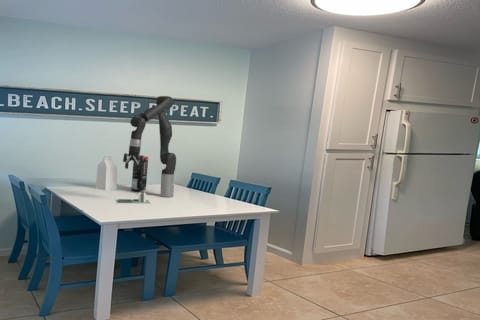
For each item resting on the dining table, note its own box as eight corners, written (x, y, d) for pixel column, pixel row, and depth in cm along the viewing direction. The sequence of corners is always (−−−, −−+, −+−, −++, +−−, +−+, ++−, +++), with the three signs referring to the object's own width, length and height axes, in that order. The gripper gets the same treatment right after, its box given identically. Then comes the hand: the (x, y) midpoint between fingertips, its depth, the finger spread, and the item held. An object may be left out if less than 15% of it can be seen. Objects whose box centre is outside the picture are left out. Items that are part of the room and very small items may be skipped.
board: (147, 201, 316) (148, 198, 316) (150, 204, 302) (150, 202, 302) (115, 201, 308) (115, 198, 308) (116, 204, 295) (116, 201, 295)
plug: (144, 201, 310) (145, 192, 309) (145, 202, 306) (146, 193, 305) (138, 201, 308) (138, 192, 308) (139, 202, 304) (139, 192, 304)
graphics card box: (138, 188, 374) (140, 155, 372) (146, 189, 373) (148, 156, 371) (131, 191, 357) (132, 156, 355) (139, 192, 356) (141, 157, 354)
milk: (105, 190, 355) (106, 157, 353) (95, 188, 361) (97, 155, 359) (117, 189, 365) (118, 156, 363) (107, 187, 371) (108, 155, 369)
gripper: (147, 147, 312) (143, 170, 312) (128, 145, 317) (125, 168, 316) (141, 146, 305) (138, 170, 305) (123, 144, 309) (120, 168, 309)
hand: (132, 169), depth 311 cm, fingers open, 8 cm apart
